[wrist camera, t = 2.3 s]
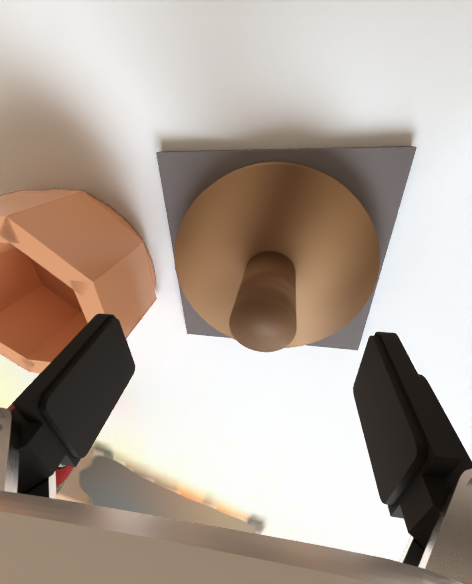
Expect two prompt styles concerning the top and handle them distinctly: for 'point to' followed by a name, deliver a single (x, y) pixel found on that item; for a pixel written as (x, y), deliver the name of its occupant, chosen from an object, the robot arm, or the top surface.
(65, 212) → the bowl
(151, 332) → the top surface
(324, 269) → the lid
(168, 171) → the mat
